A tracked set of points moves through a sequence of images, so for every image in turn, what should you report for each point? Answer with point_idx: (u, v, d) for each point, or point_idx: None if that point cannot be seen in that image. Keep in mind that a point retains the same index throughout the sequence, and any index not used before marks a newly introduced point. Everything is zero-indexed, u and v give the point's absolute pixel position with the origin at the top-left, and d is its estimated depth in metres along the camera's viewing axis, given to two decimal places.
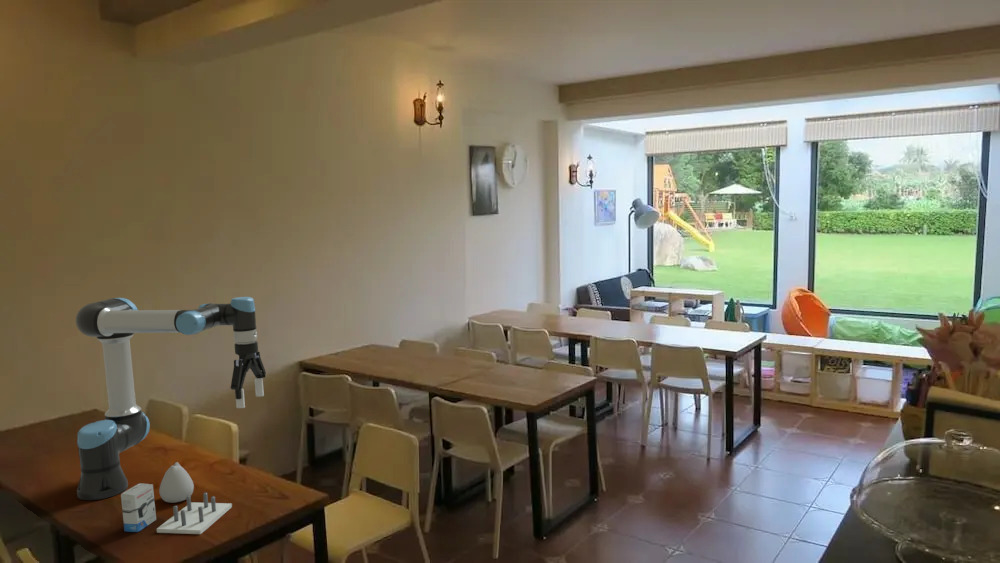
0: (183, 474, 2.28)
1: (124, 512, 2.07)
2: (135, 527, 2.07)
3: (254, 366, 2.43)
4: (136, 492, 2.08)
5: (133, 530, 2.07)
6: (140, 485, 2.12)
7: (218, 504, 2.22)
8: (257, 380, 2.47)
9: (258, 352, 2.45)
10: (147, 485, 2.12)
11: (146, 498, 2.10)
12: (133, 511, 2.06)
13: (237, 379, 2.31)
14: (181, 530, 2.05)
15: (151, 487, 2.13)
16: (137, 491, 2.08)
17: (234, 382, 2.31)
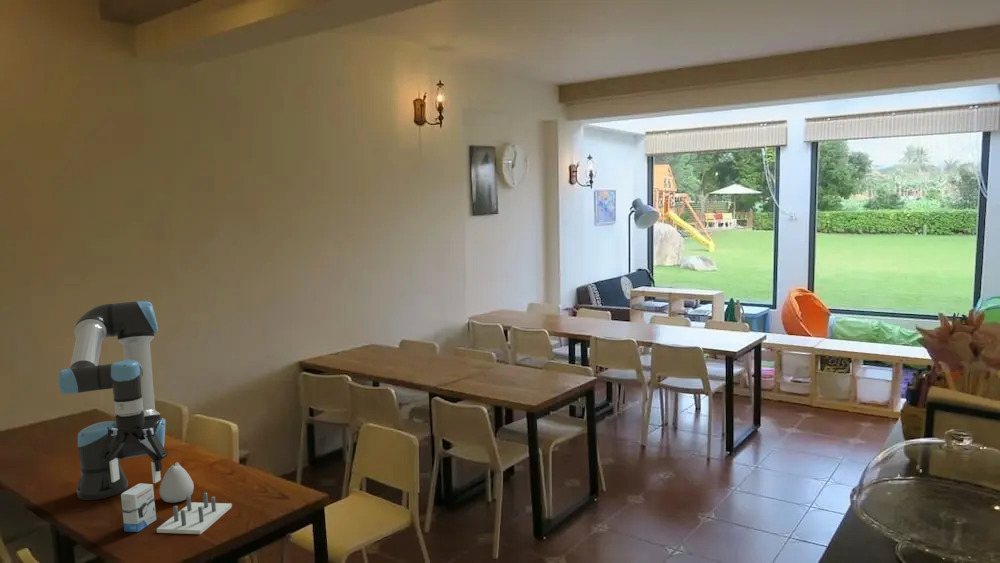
0: (183, 474, 2.28)
1: (124, 512, 2.07)
2: (135, 527, 2.07)
3: None
4: (136, 492, 2.08)
5: (133, 530, 2.07)
6: (140, 485, 2.12)
7: (218, 504, 2.22)
8: None
9: (146, 430, 2.06)
10: (147, 485, 2.12)
11: (146, 498, 2.10)
12: (133, 511, 2.06)
13: None
14: (181, 530, 2.05)
15: (151, 487, 2.13)
16: (137, 491, 2.08)
17: None
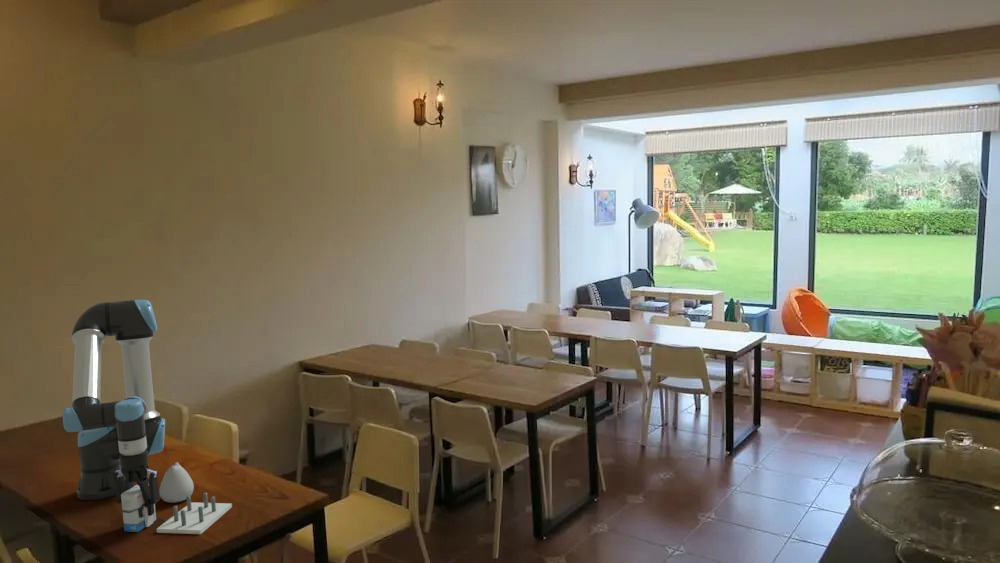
0: (183, 474, 2.28)
1: (124, 512, 2.07)
2: (135, 527, 2.07)
3: None
4: (136, 492, 2.08)
5: (133, 530, 2.07)
6: None
7: (218, 504, 2.22)
8: None
9: (150, 473, 2.07)
10: None
11: None
12: (133, 511, 2.06)
13: None
14: (181, 530, 2.05)
15: None
16: (137, 491, 2.08)
17: None
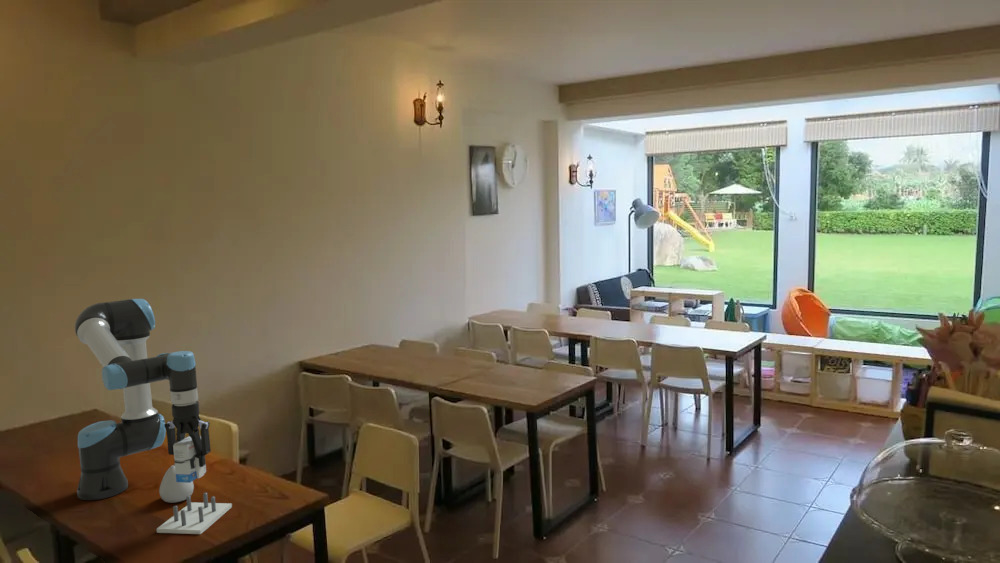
0: None
1: (176, 463, 2.08)
2: (187, 477, 2.08)
3: None
4: (188, 443, 2.09)
5: (185, 481, 2.08)
6: None
7: (218, 504, 2.22)
8: None
9: (202, 424, 2.08)
10: None
11: None
12: (186, 461, 2.07)
13: None
14: (181, 530, 2.05)
15: None
16: (188, 442, 2.09)
17: None
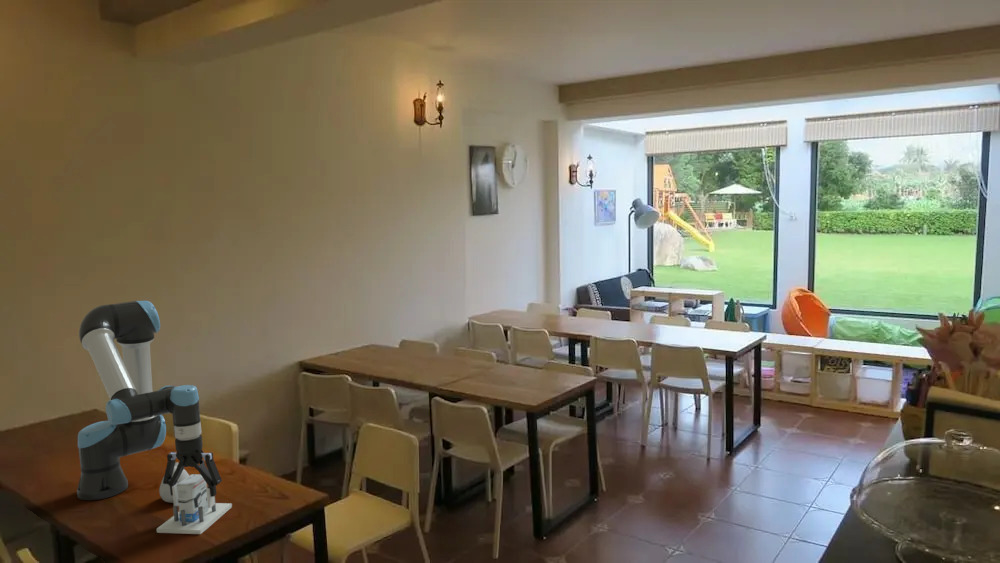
0: (183, 474, 2.28)
1: (180, 502, 2.09)
2: (191, 517, 2.10)
3: None
4: (191, 482, 2.10)
5: (189, 520, 2.10)
6: (193, 476, 2.15)
7: (218, 504, 2.22)
8: None
9: (205, 455, 2.10)
10: (200, 476, 2.15)
11: (200, 488, 2.13)
12: (190, 501, 2.09)
13: None
14: (181, 530, 2.05)
15: None
16: (192, 481, 2.11)
17: None
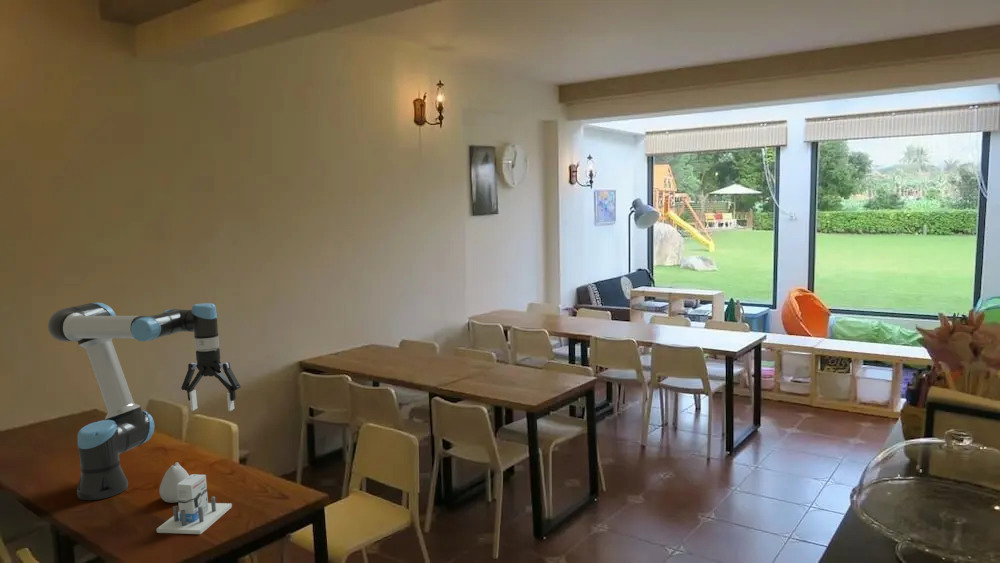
0: (183, 474, 2.28)
1: (180, 502, 2.09)
2: (191, 517, 2.10)
3: None
4: (192, 482, 2.10)
5: (189, 520, 2.10)
6: (193, 476, 2.15)
7: (218, 504, 2.22)
8: None
9: (223, 364, 2.34)
10: (200, 476, 2.15)
11: (200, 488, 2.13)
12: (190, 501, 2.09)
13: None
14: (181, 530, 2.05)
15: (204, 477, 2.16)
16: (192, 481, 2.11)
17: None
